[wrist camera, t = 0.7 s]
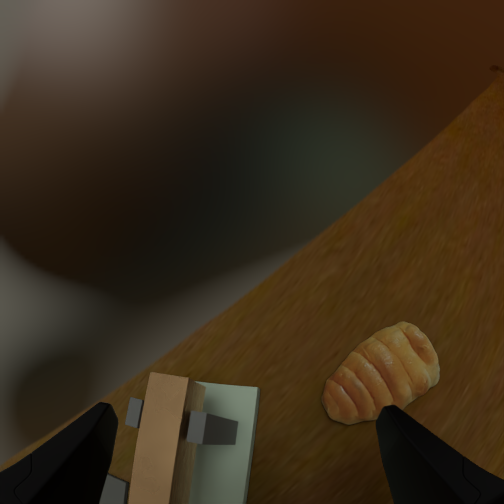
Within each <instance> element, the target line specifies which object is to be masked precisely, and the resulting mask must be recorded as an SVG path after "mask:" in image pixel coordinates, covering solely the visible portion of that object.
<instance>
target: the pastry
mask: <svg viewBox="0 0 504 504" xmlns="http://www.w3.org/2000/svg"><path fill="white" fill-rule="evenodd" d="M439 371H440V368H439V365H438V357H437V354H436V352H435V350H434V348H433V346H432V344H431V343H430V341H429V339H428V338H427V336H426V335H425V334H424V333H422V332H421V331H419V329H418V328H417V327H416V326H414V325H413V324H410V323H406V322H399V323H397V324H396V325H394V326H392V327H387V328H384V329H382V330H380V331H378V332H376V333H375V334H374V335H372V336H371V337H370V338H368V339H367V340H366V341H364V342H362V343H360V344H359V345H358V346H357V347H356V349H355V350H353V351H352V352H351V353H350V354H349V355H348V357H347V358H346V359H345V360H344V361H343V362H342V363H341V365H340V366H339V368H338V369H337V370H336V371H335V373H334V374H333V375H332V376H331V377H329V378H328V379H327V381H326V385H325V387H324V392H323V395H322V404H323V406H324V408H325V410H326V411H327V413H328V415H329V417H330V418H331V419H333V420H335V421H338V422H341V423H344V424H347V425H351V424H355V423H359V422H362V421H370V420H375V419H377V418H378V416H379V414H380V412H381V410H382V408H383V407H384V406H387V405H396V406H398V407H399V408H400V409H401V410H403V409H404V408H405V407H406V406H407V405H408V404H409V403H411V402H412V401H414V400H415V399H416V398H417V397H419V396H422V395H424V394H425V393H426V392H427V391H428V389H429V388H430V387H433V386H435V385H436V384H437V383H438V381H439Z"/></svg>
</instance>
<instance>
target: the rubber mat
mask: <svg viewBox="0 0 504 504" xmlns="http://www.w3.org/2000/svg"><path fill="white" fill-rule="evenodd" d="M128 488H129V482H126V481H124V480H122V479H119V478H117V477H115V476H113V475H111V474H107V478H106V481H105V485H104V488H103V492H102V496H101V499H100V503H99V504H127V496H128Z"/></svg>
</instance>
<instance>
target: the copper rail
mask: <svg viewBox="0 0 504 504" xmlns="http://www.w3.org/2000/svg"><path fill="white" fill-rule="evenodd" d="M205 391H206V387H205V386H203V385H201V384H199V383H197V382H195V381H194V380H192V379H190V378H186V377H179V376H172V375H166V374H160V373H154V372H151V373H150V377H149V382H148V387H147V392H146V396H145V401H144V406H143V412H142V417H141V422H140V428H139V434H138V439H137V445H136V452H135V458H134V465H133V471H132V479H131V486H130V495H129V503H128V504H189V497H190V490H191V483H192V475H193V468H194V462H195V455H196V448H197V443H192V442H188V441H187V434H188V428H189V422H190V416H191V411H197V412H202V409H203V403H204V397H205Z"/></svg>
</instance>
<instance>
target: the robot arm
mask: <svg viewBox="0 0 504 504" xmlns="http://www.w3.org/2000/svg"><path fill="white" fill-rule="evenodd" d="M117 428H118V418H117V415H116V413H115V411H114V409H113V406H112V405H111V404H109V403H104V402H99V403H98V404H96V405H95V406H94V407H92V408H91V409H90V410H88V411H87V412H86V413H84V414H83V415H82V416H80V417H79V418H78V419H76V420H75V421H74V422H72V423H71V424H70V425H68V426H67V427H66V428H64V429H63V430H62V431H60V432H59V433H58V434H56V435H55V436H53V437H52V438H51V439H49V440H48V441H47V442H45V443H44V444H43V445H41V446H40V447H38V448H37V449H36V450H34V451H33V452H32V454H31V453H30V454H29V455H27V456H26V457H24V458H23V459H21V460H20V461H18V462H17V463H15V464H14V465H12V466H10V467H9V468H7V469H5V470H3V471H1V472H0V504H99V503H100V499H101V496H102V492H103V488H104V485H105V481H106V478H107V474H108V471H109V468H110V464H111V460H112V456H113V450H114V445H115V439H116V434H117ZM376 430H377V435H378V441H379V446H380V452H381V458H382V462H383V466H384V470H385V473H386V476H387V480H388V483H389V487H390V490H391V494H392V497H393V501H394V504H504V480H503V479H501V478H499V477H497V476H495V475H493V474H491V473H489V472H487V471H486V470H484V469H482V468H481V467H479V466H477V465H476V464H474V463H473V462H471V461H470V460H469V459H467V458H466V457H464V456H463V455H462V454H460V453H459V452H457V451H456V450H455V449H453V448H452V447H451V446H449V445H448V444H446V443H445V442H444V441H442V440H441V439H440V438H438V437H437V436H436V435H434V434H433V433H432V432H430V431H429V430H428V429H426V428H425V427H424V426H422V425H421V424H420V423H418V422H417V421H416V420H414V419H413V418H412V417H411V416H409V415H408V414H407V413H405V412H404V411H403V410H401V409H400V408H399V407H398V406H396V405H387V406H384V407H383V408H382V410H381V412H380V414H379V416H378V418H377V421H376Z"/></svg>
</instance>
